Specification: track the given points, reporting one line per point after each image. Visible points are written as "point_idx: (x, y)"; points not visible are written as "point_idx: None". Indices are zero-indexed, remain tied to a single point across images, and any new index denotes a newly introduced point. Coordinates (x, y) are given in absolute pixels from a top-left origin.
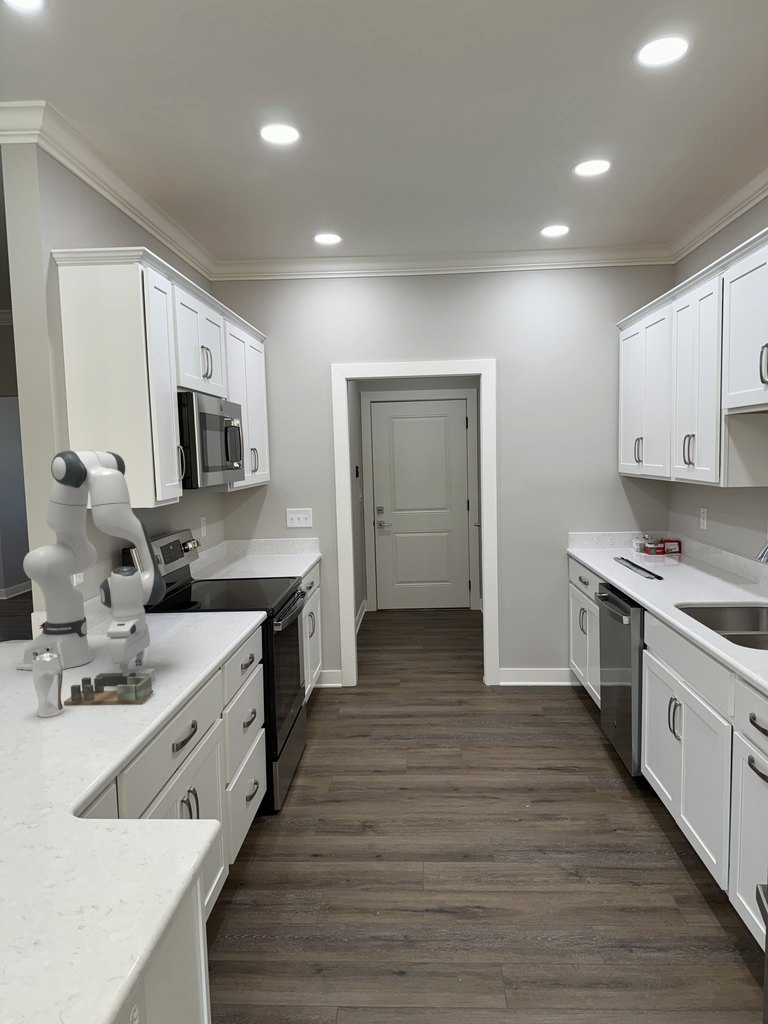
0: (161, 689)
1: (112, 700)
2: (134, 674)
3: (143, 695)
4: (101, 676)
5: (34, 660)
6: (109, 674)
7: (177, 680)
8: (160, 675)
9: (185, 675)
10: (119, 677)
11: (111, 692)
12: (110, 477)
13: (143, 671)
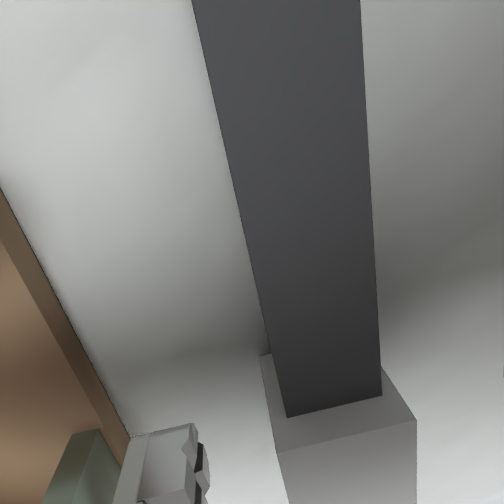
0: (238, 500)
1: None
2: (327, 379)
3: None
4: (202, 16)
5: None
6: (305, 94)
7: None
8: (489, 367)
9: (469, 479)
10: (253, 269)
11: (2, 336)
12: None
13: (335, 478)
